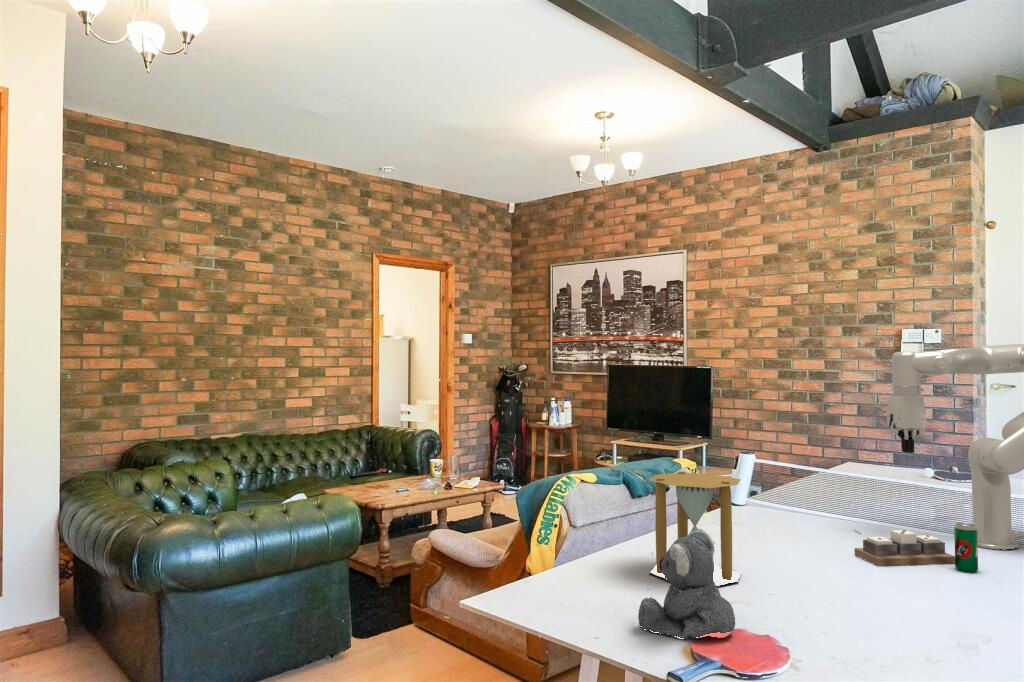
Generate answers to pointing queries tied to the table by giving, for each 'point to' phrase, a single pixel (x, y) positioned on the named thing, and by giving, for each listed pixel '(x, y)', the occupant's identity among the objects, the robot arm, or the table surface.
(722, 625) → the koala plush
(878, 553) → the button panel
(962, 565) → the soda can
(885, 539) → the one dot button
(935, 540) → the two dot button
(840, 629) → the table surface
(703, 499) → the hourglass
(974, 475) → the robot arm
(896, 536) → the three dot button
